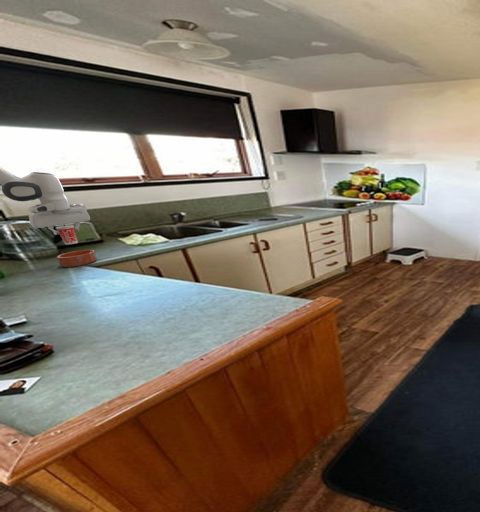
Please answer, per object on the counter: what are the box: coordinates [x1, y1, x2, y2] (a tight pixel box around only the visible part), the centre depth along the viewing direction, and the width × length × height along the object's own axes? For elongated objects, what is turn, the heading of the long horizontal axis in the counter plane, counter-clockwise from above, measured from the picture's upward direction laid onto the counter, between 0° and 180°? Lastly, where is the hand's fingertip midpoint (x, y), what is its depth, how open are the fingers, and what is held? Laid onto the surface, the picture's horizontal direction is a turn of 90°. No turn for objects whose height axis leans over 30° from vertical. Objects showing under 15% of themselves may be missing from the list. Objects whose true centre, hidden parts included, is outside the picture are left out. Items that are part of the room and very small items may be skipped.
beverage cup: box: [55, 224, 79, 246], centre depth 139 cm, size 6×6×14 cm
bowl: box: [56, 249, 98, 268], centre depth 144 cm, size 13×13×6 cm
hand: (67, 232), depth 140 cm, fingers closed on beverage cup, 6 cm apart
